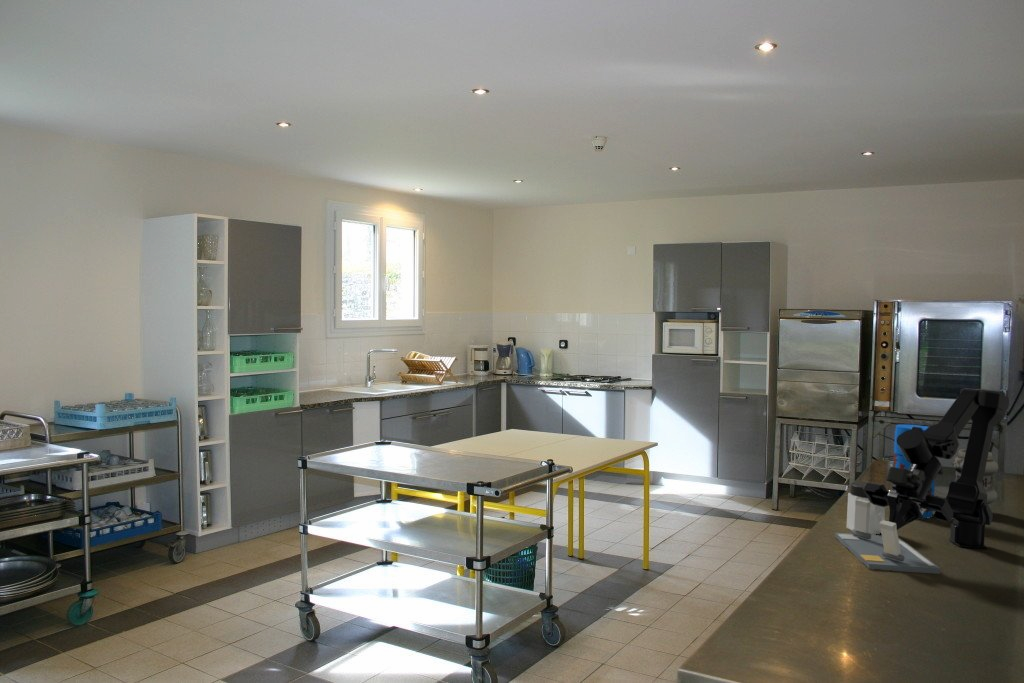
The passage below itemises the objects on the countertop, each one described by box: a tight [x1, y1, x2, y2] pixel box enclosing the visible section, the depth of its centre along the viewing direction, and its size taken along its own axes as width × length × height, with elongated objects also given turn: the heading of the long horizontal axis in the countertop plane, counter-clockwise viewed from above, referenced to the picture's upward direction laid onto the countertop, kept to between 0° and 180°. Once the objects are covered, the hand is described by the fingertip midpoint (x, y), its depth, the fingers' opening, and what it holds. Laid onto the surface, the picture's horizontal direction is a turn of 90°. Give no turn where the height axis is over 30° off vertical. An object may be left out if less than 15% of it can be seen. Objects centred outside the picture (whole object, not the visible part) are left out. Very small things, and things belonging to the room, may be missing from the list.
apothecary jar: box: [951, 448, 999, 505], centre depth 229 cm, size 12×12×18 cm
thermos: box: [891, 424, 936, 519], centre depth 225 cm, size 11×11×25 cm
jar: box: [846, 481, 886, 535], centre depth 206 cm, size 9×8×12 cm
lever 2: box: [879, 519, 904, 562], centre depth 176 cm, size 2×4×9 cm, turn 33°
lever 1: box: [851, 499, 871, 539], centre depth 194 cm, size 2×4×9 cm, turn 34°
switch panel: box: [834, 532, 941, 575], centre depth 185 cm, size 15×25×1 cm, turn 174°
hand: (890, 530), depth 176 cm, fingers closed, pressing on lever 2
